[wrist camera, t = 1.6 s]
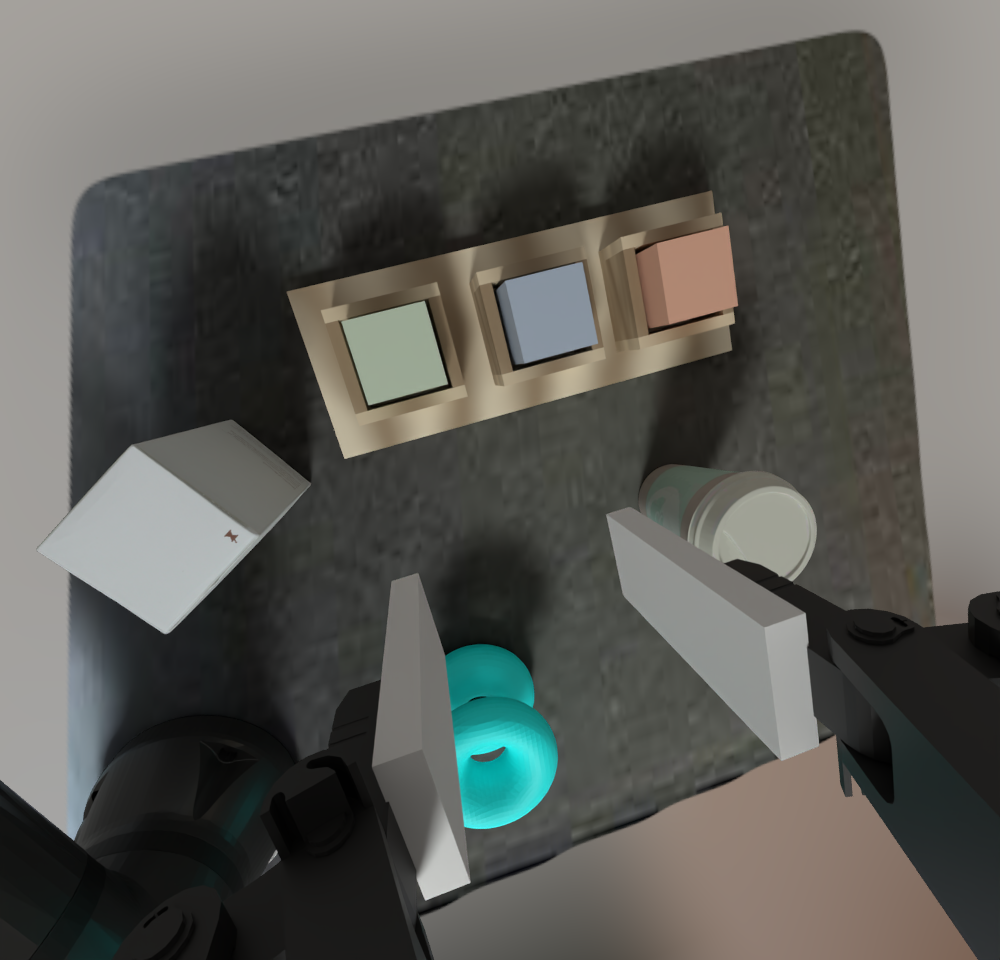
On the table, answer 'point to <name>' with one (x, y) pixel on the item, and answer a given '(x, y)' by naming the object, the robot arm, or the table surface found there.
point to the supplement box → (174, 519)
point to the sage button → (395, 352)
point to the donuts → (498, 736)
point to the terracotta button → (687, 277)
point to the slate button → (546, 313)
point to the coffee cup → (733, 515)
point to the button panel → (479, 332)
